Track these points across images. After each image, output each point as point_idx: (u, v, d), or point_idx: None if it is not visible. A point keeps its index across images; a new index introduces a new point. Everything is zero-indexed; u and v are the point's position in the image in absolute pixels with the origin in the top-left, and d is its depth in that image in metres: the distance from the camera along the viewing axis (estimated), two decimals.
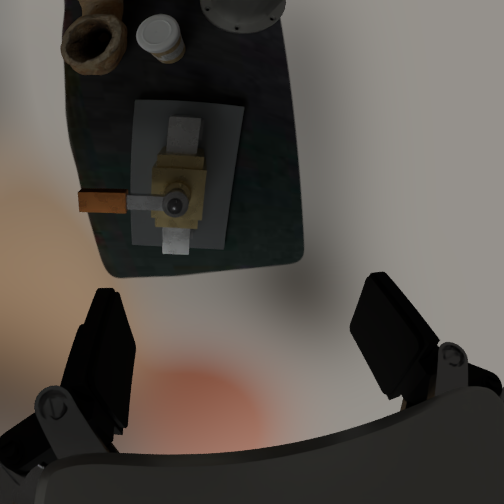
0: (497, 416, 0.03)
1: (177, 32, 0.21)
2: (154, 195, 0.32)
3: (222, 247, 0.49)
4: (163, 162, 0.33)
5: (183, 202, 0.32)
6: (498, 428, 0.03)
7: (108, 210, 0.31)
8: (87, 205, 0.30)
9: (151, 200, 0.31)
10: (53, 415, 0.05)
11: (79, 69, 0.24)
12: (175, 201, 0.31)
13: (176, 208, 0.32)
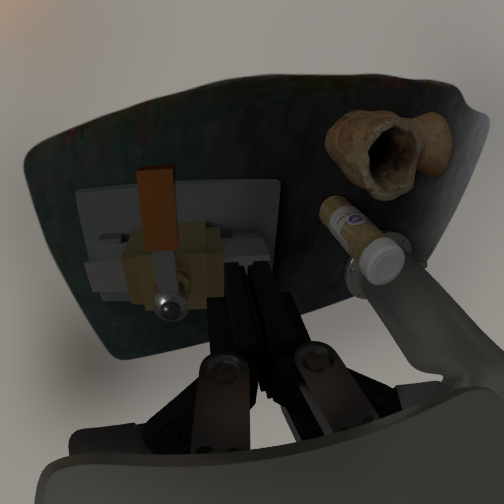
0: (497, 416, 0.03)
1: (380, 284, 0.26)
2: (177, 281, 0.24)
3: (104, 299, 0.35)
4: (212, 261, 0.27)
5: None
6: (498, 428, 0.03)
7: (145, 224, 0.20)
8: (149, 187, 0.18)
9: (171, 281, 0.23)
10: (216, 376, 0.07)
11: (356, 138, 0.23)
12: (178, 313, 0.24)
13: (169, 315, 0.24)
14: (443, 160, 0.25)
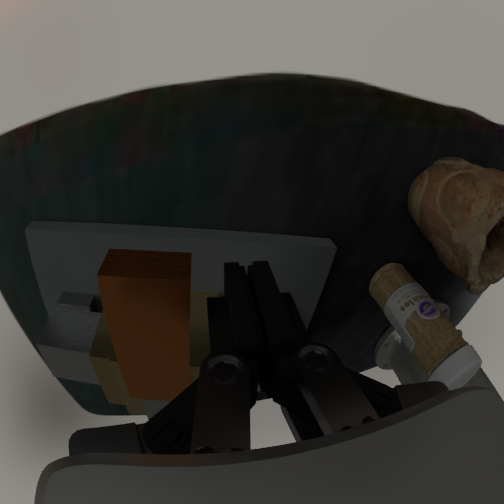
0: (497, 416, 0.03)
1: None
2: None
3: None
4: None
5: None
6: (498, 428, 0.03)
7: (127, 368, 0.09)
8: (131, 312, 0.07)
9: None
10: (217, 377, 0.07)
11: (476, 210, 0.13)
12: None
13: None
14: None
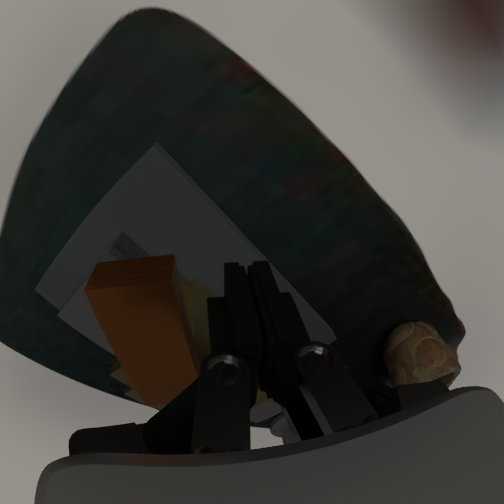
0: (497, 416, 0.03)
1: None
2: None
3: (38, 291, 0.18)
4: None
5: None
6: (498, 428, 0.03)
7: (135, 376, 0.09)
8: (124, 321, 0.07)
9: None
10: (216, 376, 0.07)
11: (435, 364, 0.22)
12: None
13: None
14: None
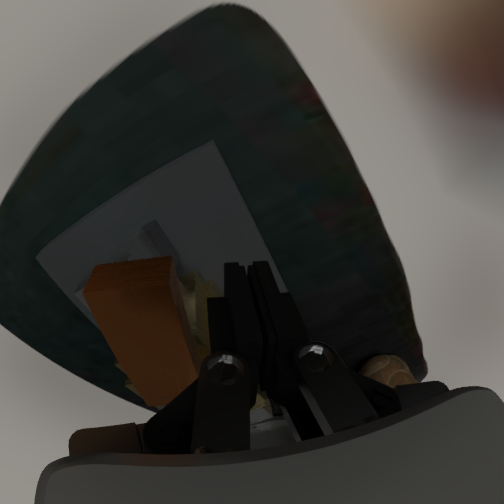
0: (497, 416, 0.03)
1: None
2: None
3: (39, 260, 0.17)
4: None
5: None
6: (498, 428, 0.03)
7: (136, 378, 0.09)
8: (123, 323, 0.07)
9: None
10: (216, 376, 0.07)
11: None
12: None
13: None
14: None
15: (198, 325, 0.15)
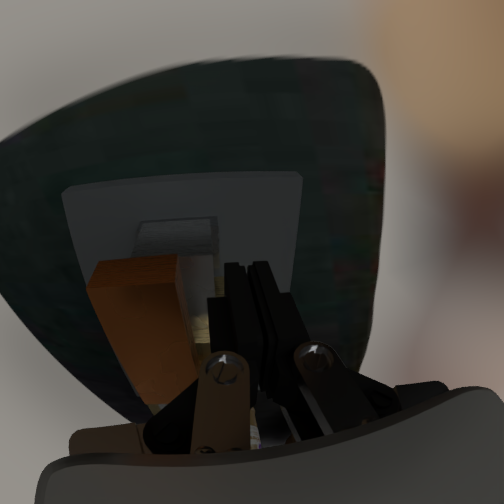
0: (497, 416, 0.03)
1: None
2: None
3: (65, 198, 0.15)
4: None
5: None
6: (498, 428, 0.03)
7: (135, 375, 0.09)
8: (125, 320, 0.07)
9: None
10: (217, 377, 0.07)
11: None
12: None
13: None
14: None
15: None
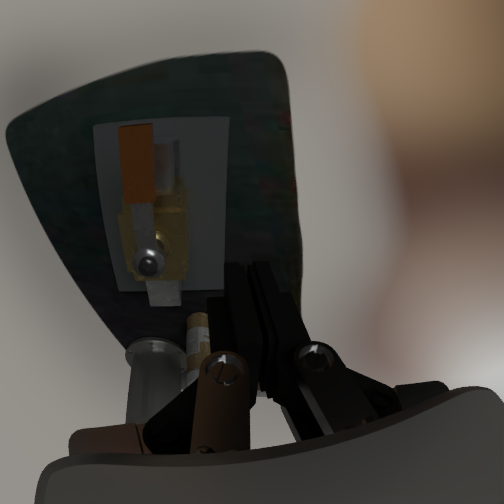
0: (497, 416, 0.03)
1: None
2: (155, 236, 0.24)
3: (94, 128, 0.26)
4: (177, 272, 0.31)
5: None
6: (498, 428, 0.03)
7: (125, 177, 0.20)
8: (129, 142, 0.19)
9: (148, 235, 0.24)
10: (216, 376, 0.07)
11: None
12: (155, 268, 0.24)
13: (146, 270, 0.24)
14: None
15: None
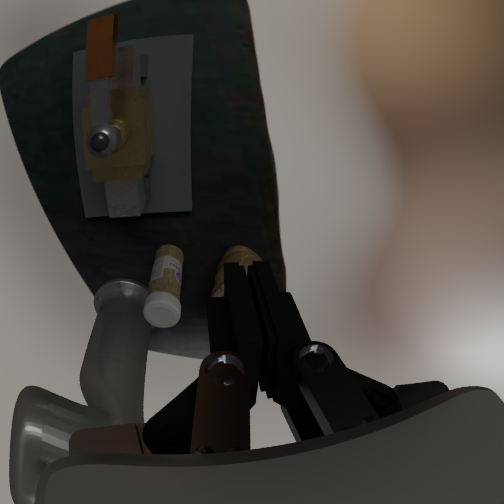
0: (497, 416, 0.03)
1: (144, 315, 0.31)
2: (109, 112, 0.21)
3: (75, 54, 0.23)
4: (134, 169, 0.27)
5: (105, 150, 0.22)
6: (498, 428, 0.03)
7: (88, 57, 0.17)
8: (95, 29, 0.15)
9: (103, 110, 0.20)
10: (216, 376, 0.07)
11: None
12: (105, 141, 0.21)
13: (97, 144, 0.21)
14: None
15: (141, 88, 0.24)
